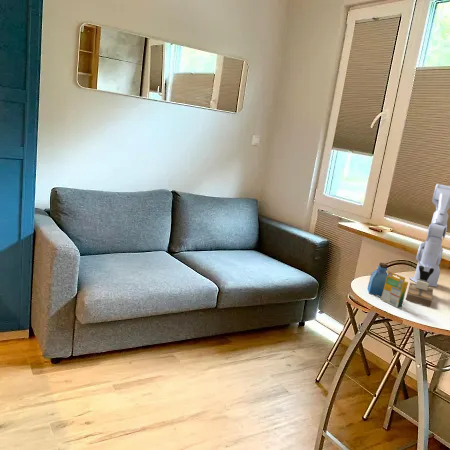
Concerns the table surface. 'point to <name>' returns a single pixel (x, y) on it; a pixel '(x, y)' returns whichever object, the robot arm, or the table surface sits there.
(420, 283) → the fader knob
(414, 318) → the table surface
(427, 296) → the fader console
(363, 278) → the table surface
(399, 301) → the crayon box
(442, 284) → the table surface
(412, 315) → the table surface
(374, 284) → the perfume bottle
